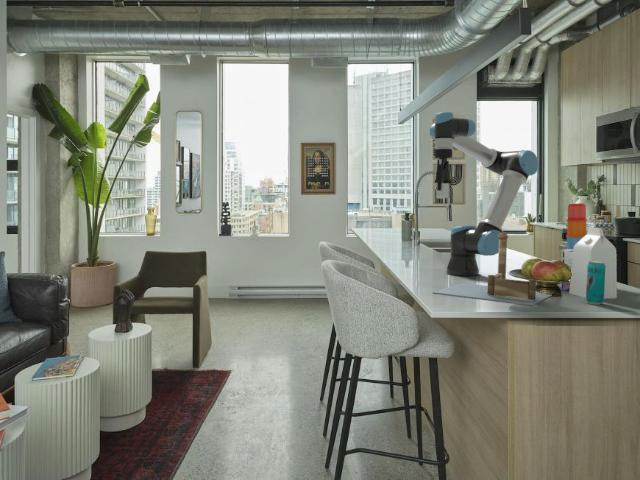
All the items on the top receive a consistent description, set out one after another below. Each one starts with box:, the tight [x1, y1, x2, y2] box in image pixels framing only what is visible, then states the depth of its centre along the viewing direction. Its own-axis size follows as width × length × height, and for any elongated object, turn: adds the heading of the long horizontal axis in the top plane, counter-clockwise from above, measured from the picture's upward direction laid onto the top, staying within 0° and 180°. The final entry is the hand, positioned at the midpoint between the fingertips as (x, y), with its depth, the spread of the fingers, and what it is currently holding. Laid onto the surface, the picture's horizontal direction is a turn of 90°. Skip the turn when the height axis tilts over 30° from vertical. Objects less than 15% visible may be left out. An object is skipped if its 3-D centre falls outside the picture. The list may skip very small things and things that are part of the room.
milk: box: [568, 226, 618, 300], centre depth 209 cm, size 12×12×26 cm
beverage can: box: [585, 261, 606, 306], centre depth 195 cm, size 6×6×15 cm
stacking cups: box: [565, 203, 588, 249], centre depth 238 cm, size 10×10×35 cm
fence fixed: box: [487, 274, 537, 300], centre depth 203 cm, size 2×18×7 cm, turn 52°
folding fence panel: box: [494, 231, 509, 293], centre depth 216 cm, size 16×4×22 cm, turn 148°
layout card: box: [432, 282, 552, 306], centre depth 214 cm, size 28×38×1 cm
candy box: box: [560, 248, 573, 291], centre depth 222 cm, size 14×6×16 cm, turn 71°
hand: (442, 198), depth 239 cm, fingers open, 13 cm apart
